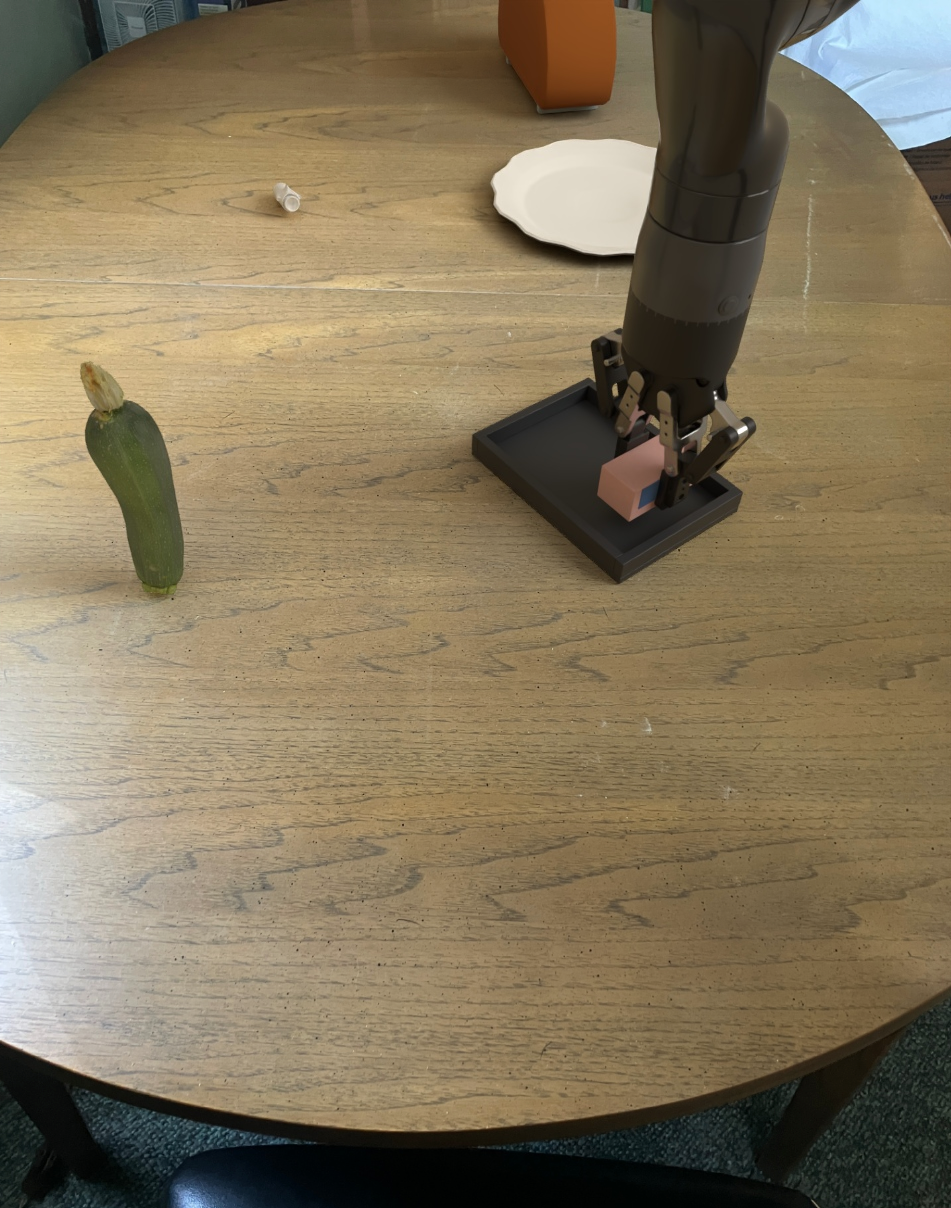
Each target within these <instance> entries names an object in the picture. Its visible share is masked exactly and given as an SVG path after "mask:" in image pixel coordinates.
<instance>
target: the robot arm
mask: <svg viewBox="0 0 951 1208" xmlns="http://www.w3.org/2000/svg"><path fill="white" fill-rule="evenodd" d="M859 2H861V0H652V2H651V41H652V43H651V44H652V45H651V46H652V59H653V77H654V89H655V90H654V92H655V93H654V95H655V105H656V113H657V121H658V131H659V136H658V137H659V138H658V143H657V147H656V148H657V152H656V157H655V163H654V169H653V175H652V181H651V187H650V193H649V199H648V204H647V209H646V213H645V216H644V219H643V222H642V225H641V228H640V232H639V235H638V240H637V244H636V250H635V255H633V261H632V267H631V274H630V281H629V286H628V292H627V298H626V305H625V309H624V316H623V323H622V327H618V328H616V329H613V330H610V331H608V332H606V333H604V334H602V335H600V336H599V337H597V338H595V339H592V341H591V342H590V350H591V359H592V366H593V374H594V382H596V389H597V397H598V404H599V411H600V413H601V415H602V416H603V417H604V418H606V419H608V418H610V417H611V418H612V420H613V421H614V422H615V427H614V428H615V432H616V434H617V435H618V438H617V444H616V450H615V455H614V459H615V458H617V457H619V456H621V455H622V454H624V453H626V452H628V451H630V450H632V449H634V448H635V447H637V446H639V445H641V444H643V443H645V442H646V441H648V437H649V431H648V430H646V429H645V426H647V425H649V423H651V421H652V419H653V418H655V419H656V420H657V421H658V422H659V425H658V426H659V427H658V429H659V443H660V445H662V446H664V469H663V470H662V471H661V476H660V483H659V487H658V491H657V495H656V499H655V501H654V505H655V506H657V507H658V508H659V509H660V510H665V509H667V508H668V507H669V508H671V507H673V506H675V505H676V504H678V503H680V502H681V501H683V500H684V499H685V498H686V497H687V494H688V490H689V486H690V484H692V485H694V484H696V483H698V482H700V481H701V480H703V479H705V478H707V477H708V476H710V475H712V474H713V473H715V472H717V473H718V472H719V471H720V470H721V469H722V468H723V467H724V466H725V465H726V464H727V463H728V462H729V461H730V459H732V457H733V456H734V455H735V454H737V452H738V451H739V450H740V449H741V448H742V447H743V446H744V444H746V442H747V441H748V440H749V439H750V438H751V437H752V436H753V435H754V434H755V433H756V431H757V424H756V423H757V422H755V420H754V419H753V418H752V417H751V416H744V417H742V418H739V417H738V416H737V415H736V413H735V412H734V411H733V410H732V408H731V407H730V405H728V403H727V402H728V401H727V400H728V397H729V391H728V386H727V385H728V383H727V377H728V373H729V371H730V369H731V368H732V366H733V364H734V361H736V358H737V356H738V353H739V349H740V345H741V342H742V338H743V335H744V332H745V328H746V324H747V321H748V317H749V313H750V310H751V306H752V303H753V299H754V296H755V292H756V288H757V285H758V281H759V277H760V274H761V271H762V268H763V263H764V260H765V259H764V258H765V253H766V245H767V237H768V231H769V227H770V222H771V219H772V216H773V211H774V208H775V205H776V201H777V198H778V197H777V196H778V194H779V189H780V186H781V182H782V179H783V175H784V171H785V168H786V163H787V158H788V152H789V148H790V142H791V131H790V129H791V128H790V122H789V120H788V118H787V115H786V113H785V112H784V110H782V108H781V107H780V106H779V105H778V104H777V103H775V101H773V100H771V99H770V98H768V89H769V81H770V75H771V70H772V67H773V65H774V61H775V58H776V55H777V54H778V53H780V52H782V51H784V50H786V49H788V48H790V47H793V46H794V45H797V44H799V43H801V42H803V41H805V40H807V39H810V38H811V37H812V36H813V37H814V36H815V35H816V34H818V33H819V32H821V31H823V30H824V29H826V28H827V27H829V26H830V25H831V24H833V23H834V22H835V21H837V20H838V19H839V18H841V17H842V16H843V15H844V14H846V13H847V12H849V11H850V10H851V9H852V8H853V7H855V6H856V5H857V4H859ZM615 385H616V389H617V395H614V393H613V388H614V386H615ZM613 395H614V396H615V397H613ZM708 417H710V420H711V426H710V428H709V433H707V431H708V420H709V419H708ZM705 435H706V436H705ZM704 436H705V438H706V440H707V442H708V443H707V444H706V446H705V447H704V448H702V442H703V440H702V439H703V437H704ZM683 447H684V452H683V453H682V449H683Z"/></svg>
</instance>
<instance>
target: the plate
mask: <svg viewBox="0 0 951 1208" xmlns="http://www.w3.org/2000/svg"><path fill="white" fill-rule="evenodd" d="M656 152H657V147H652V146H646V145H643V144H640V143H637V142H633V141H630V140H626V139H625V140H624V139H617V138H616V139H615V138H605V139H604V138H603V139H577V138H570V139H564V140H557V141H554V142H552V143H551V142H550V143H549V144H546V145H544V146H541V147H535V148H530V149H525V150H523V151H521V152H519V153H517V154H515V155H513V156H512V157H511V158H510V159H509V161H508V162H507V164H506V165H505V166H504V167H503V168H501V169H499V170H498V171H496V172H495V173H494V174H493V175H492V178H491V180H490V184H489V185H490V188H491V189H492V192H493V196H494V198H493V208H494V209H495V210H496V212H497V214H498V215H499V216H500V217H502V218H503V219H505V220H507V221H508V222H510V223H511V224H514V225H515V226H516V228H518V230H520V231H521V232H522V233H523V235H525V236H526V237H529V238H530V239H532V240H534V241H537V242H539V243H540V244H546V245H551V246H557V247H559V248H565V249H567V250H570V251H573V252H576V253H578V254H580V255H585V256H591V257H592V256H594V257H601V258H607V257H617V256H635V250H636V244H637V240H638V235H639V232H640V228H641V225H642V222H643V219H644V216H645V213H646V209H647V204H648V199H649V193H650V187H651V181H652V175H653V169H654V163H655V157H656Z"/></svg>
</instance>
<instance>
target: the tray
mask: <svg viewBox="0 0 951 1208" xmlns="http://www.w3.org/2000/svg"><path fill="white" fill-rule="evenodd" d="M615 396H616V395H614V394H613V397H615ZM614 427H615V422H614V421H613V420H612V418H611V417H610V418H608V419H606V418H604V417H603V416H602V415H601V413H600V411H599V404H598V397H597V389H596V382H595V380H593V379H592V378H591V377H589V376H588V377H586V378H584V379H582V380H580V381H578V382H576V383H574V384H572V385H570V386H568V387H566V388H564V389H561V390H560V391H558V392H556V393H554V394H551V395H549V396H548V397H545V398H543V399H541V400H539V401H538V402H535V403H533V404H531V405H529V406H527V407H525V408H523V409H521V410H519V411H517V412H515V413H512V414H511V415H509V416H506V417H504V418H502V419H501V420H498V421H496V422H494V423H492V424H489V425H488V426H486V427H484V428H482V429H480V430H478V431H475V432H473V433H472V434H471V455H472V456H473V457H475V458H476V459H477V460H478V461H479V462H480V463H481V464H482V465H483V466H485V468H487V469H488V470H489V471H490V472H491V473H493V474H494V475H495V476H496V477H497V478H498V479H500V480H501V481H502V483H504V484H505V485H506V486H507V487H508V488H510V489H511V490H512V491H513V492H514V493H515V494H516V495H518V496H519V497H520V498H521V499H522V500H523V501H524V502H525V503H527V504H528V505H529V506H530V507H531V508H532V509H534V510H535V511H536V512H537V513H538V514H539V515H540V516H541V517H542V518H543V519H545V520H546V521H547V522H548V523H549V524H550V525H552V526H553V527H554V528H555V529H556V530H557V531H558V532H560V533H561V535H563V536H564V537H565V538H566V539H567V540H568V541H570V542H571V543H572V544H573V545H574V546H575V547H576V548H577V549H579V550H580V551H581V552H582V553H583V554H584V555H585V556H586V557H588V558H589V559H590V560H591V561H592V562H593V563H595V564H596V565H597V566H598V567H599V568H600V569H601V570H602V571H604V572H605V573H606V574H607V575H608V576H609V577H610V578H611V579H613V580H614V581H615V582H616V583H617V584H618V585H621V584H622V583H623V582H625V581H627V580H628V579H630V578H632V577H633V576H635V575H636V574H638V573H640V572H641V571H643V570H645V569H646V568H648V567H649V566H651V565H653V564H654V563H656V562H657V561H660V560H661V559H662V558H664V557H665V556H667V555H669V554H670V553H672V552H674V551H675V550H677V549H678V548H680V547H682V546H684V545H685V544H687V543H688V542H690V541H691V540H694V539H695V538H696V537H697V536H699V535H700V536H701V534H703V533H705V532H706V531H708V530H710V529H712V528H713V527H714V526H716V525H718V524H719V523H720V522H723V521H724V520H726V519H727V518H729V517H731V516H732V515H734V514H736V513H737V512H738V509H739V507H740V504H741V502H742V501H741V500H742V497H743V494H744V491H742V489H740V488H739V487H738V486H736V485H735V484H734V483H732V482H731V481H729V480H728V479H727V478H725V477H724V476H723V475H722V474H720V473H719V472H718V471H717V472H715V473H713V474H712V475H710V476H708V477H707V478H705V479H703V480H701V481H700V482H698V483H696V484H694V485H691V486H689V490H688V494H687V497H686V498H685V499H684V500H683V501H681V502H680V503H678V504H676V505H675V506H673V507H671V508H669V507H668V508H667V509H665V510H660V509H659V508H658V507H657V506H655V507H653V508H652V509H650V510H648V511H647V512H645V513H643V514H641V515H640V516H638V517H636V518H635V519H633V520H631V521H627V520H626V519H625V518H624V517H623V516H621V515H620V514H619V513H618V512H617V511H615V510H614V509H613V508H612V507H611V506H609V505H608V504H607V503H606V502H605V501H604V500H602V499H601V498H600V497H599V496H598V495H597V493H598V487H599V481H600V475H601V469H602V465H604V464H606V463H608V462H610V461H611V460H613V459H614V455H615V450H616V444H617V438H618V435H617V434H616V432H615V428H614ZM645 429H646V430H648V431H649V437H648V440H650V439H652V438H654V437H656V436H657V435H659V427H657V426H655V425H654V424H652V423H651V422H650V423H649V425H647V426H645Z"/></svg>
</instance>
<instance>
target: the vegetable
mask: <svg viewBox="0 0 951 1208" xmlns="http://www.w3.org/2000/svg"><path fill="white" fill-rule="evenodd" d="M79 375H80V377H79V378H80V380H81V382H82V385H83V388H84V391H85V394H86V397H87V398H88V401H89V402H90V404H91V406H92V407H93V408H94V409H93V410H92V411H91V413H90V414H89V415H88V418H87V421H86V424H85V428H84V441H85V446H86V450H87V452H88V455H89V456H90V458H91V460H92V462H93V464H94V465H95V466H96V468H97V469H98V471H99V473H100V474H101V476H102V478H103V479H104V480H105V482H106V484H107V485H108V487H109V488H110V491H111V492H112V493H113V495H114V496H115V498H116V500H117V502H118V505H119V507H120V510H121V513H122V517H123V520H124V524H125V533H126V539H127V544H128V547H129V551H130V555H131V560H132V563H133V564H132V565H133V566H134V570H135V574H136V576H137V579H138V580H139V581H141V588H142V590H143V592H145V593H151V594H155V593H156V594H161V595H166V594H168V595H175V592H176V590H177V587H178V583H179V582H180V581H181V580H182V578H183V574H184V566H185V565H184V564H185V541H184V533H183V528H182V527H183V526H182V521H181V516H180V510H179V506H178V499H177V493H176V488H175V484H174V483H175V482H174V477H173V476H174V475H173V469H172V464H171V458H170V456H169V452H168V449H167V445H166V443H165V439H164V436H163V433H162V432H161V429H160V428H159V426H158V424H157V422H156V420H155V418H154V417H153V416H152V415H151V413H149V411H148V410H146V409H145V408H144V407H143V406H141V405H140V404H139V403H137V402H135V401H132V400H130V399H124V397H125V393H124V389H122V387H121V385H120V384H119V383H118V382H117V380H116V379H115V377H114V376H113V375H112V374H110V373H109V372H108V371H107V370H105V369H103V368H102V366H101V365H100V364H97V365H96V364H94V362H93V361H92V360H88V361H84V362H82V363H81V364H80V369H79Z"/></svg>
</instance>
